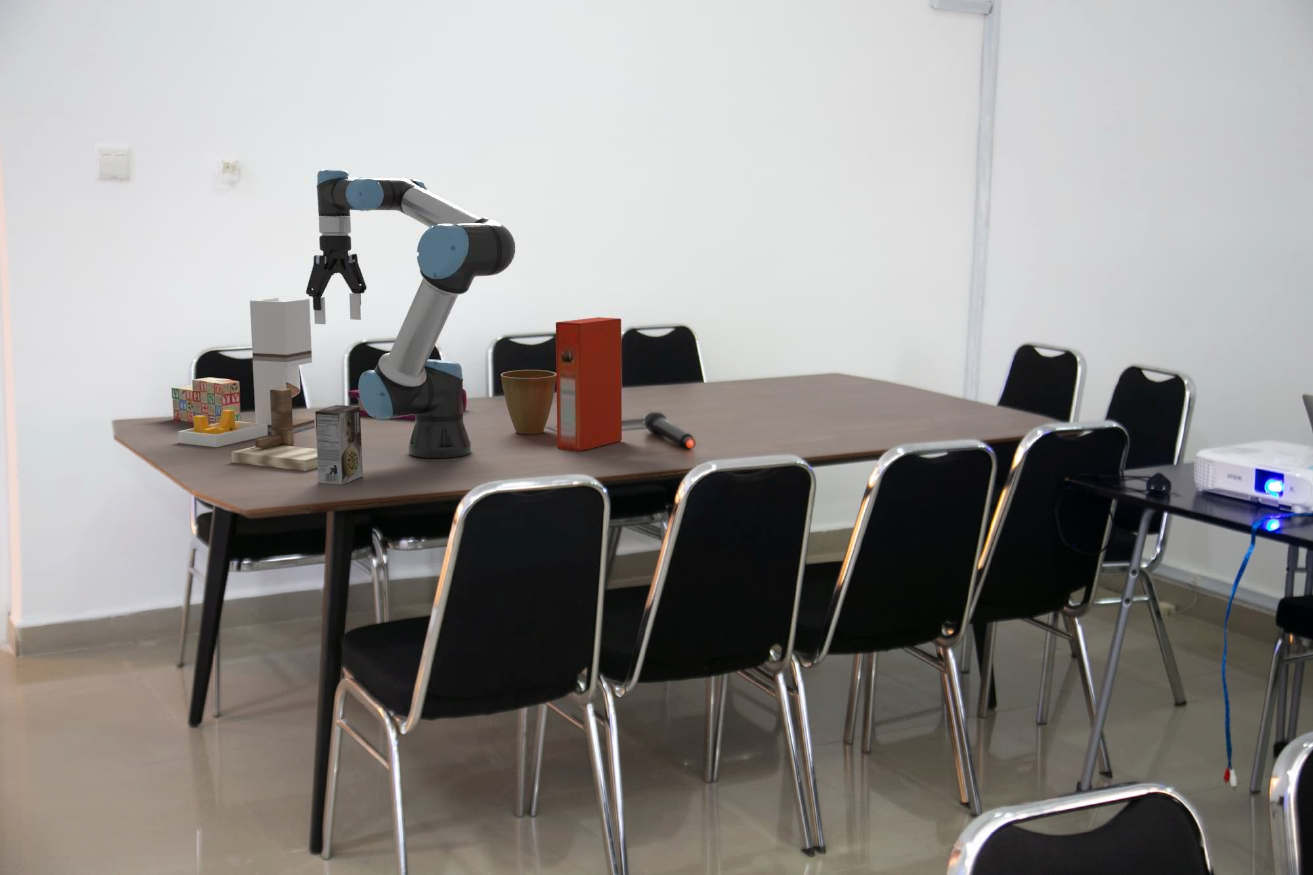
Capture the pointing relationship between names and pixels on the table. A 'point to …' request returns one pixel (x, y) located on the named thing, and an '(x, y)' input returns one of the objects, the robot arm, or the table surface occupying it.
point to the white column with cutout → (279, 352)
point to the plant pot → (529, 398)
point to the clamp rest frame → (224, 435)
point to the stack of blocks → (206, 399)
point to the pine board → (278, 457)
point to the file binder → (588, 383)
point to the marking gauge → (279, 420)
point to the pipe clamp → (222, 427)
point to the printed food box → (339, 444)
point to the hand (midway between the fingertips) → (338, 321)
